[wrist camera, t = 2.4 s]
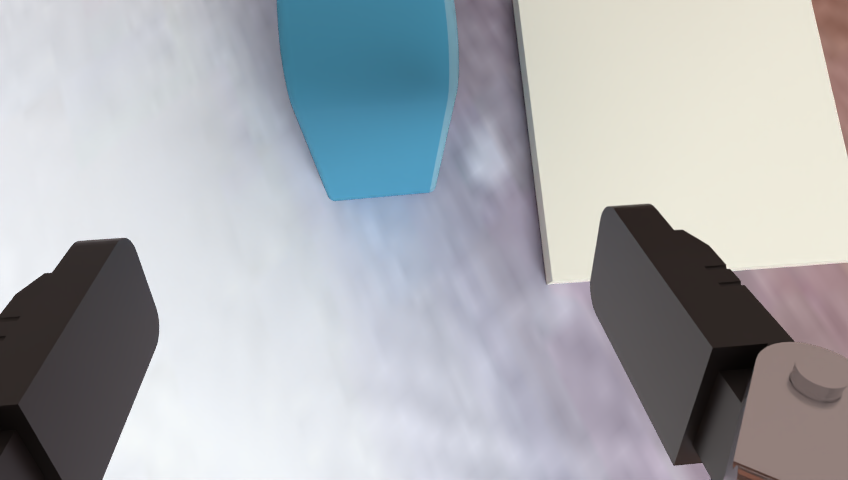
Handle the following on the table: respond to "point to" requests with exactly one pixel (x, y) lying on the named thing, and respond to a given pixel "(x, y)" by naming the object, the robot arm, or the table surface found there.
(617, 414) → the table surface
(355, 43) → the data package
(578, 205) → the cream mat
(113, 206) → the table surface
